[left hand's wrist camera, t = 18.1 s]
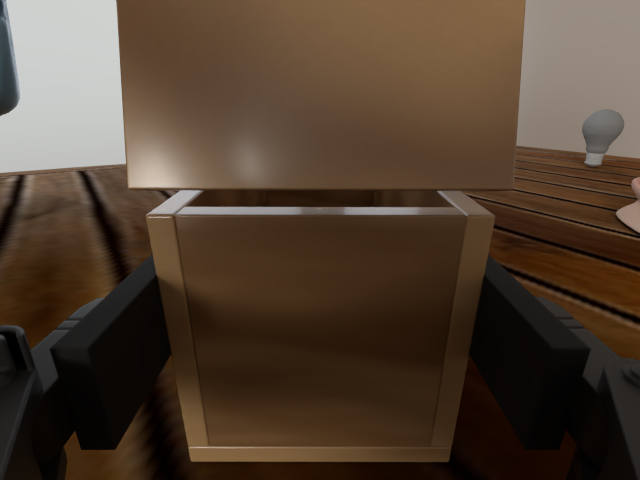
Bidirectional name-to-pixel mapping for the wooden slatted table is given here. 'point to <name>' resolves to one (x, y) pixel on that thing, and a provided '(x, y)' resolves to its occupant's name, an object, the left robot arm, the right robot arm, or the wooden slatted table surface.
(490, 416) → the wooden slatted table surface
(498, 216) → the wooden slatted table surface
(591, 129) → the light bulb
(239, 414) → the chest
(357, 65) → the lid
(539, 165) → the wooden slatted table surface
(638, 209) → the anatomical model
